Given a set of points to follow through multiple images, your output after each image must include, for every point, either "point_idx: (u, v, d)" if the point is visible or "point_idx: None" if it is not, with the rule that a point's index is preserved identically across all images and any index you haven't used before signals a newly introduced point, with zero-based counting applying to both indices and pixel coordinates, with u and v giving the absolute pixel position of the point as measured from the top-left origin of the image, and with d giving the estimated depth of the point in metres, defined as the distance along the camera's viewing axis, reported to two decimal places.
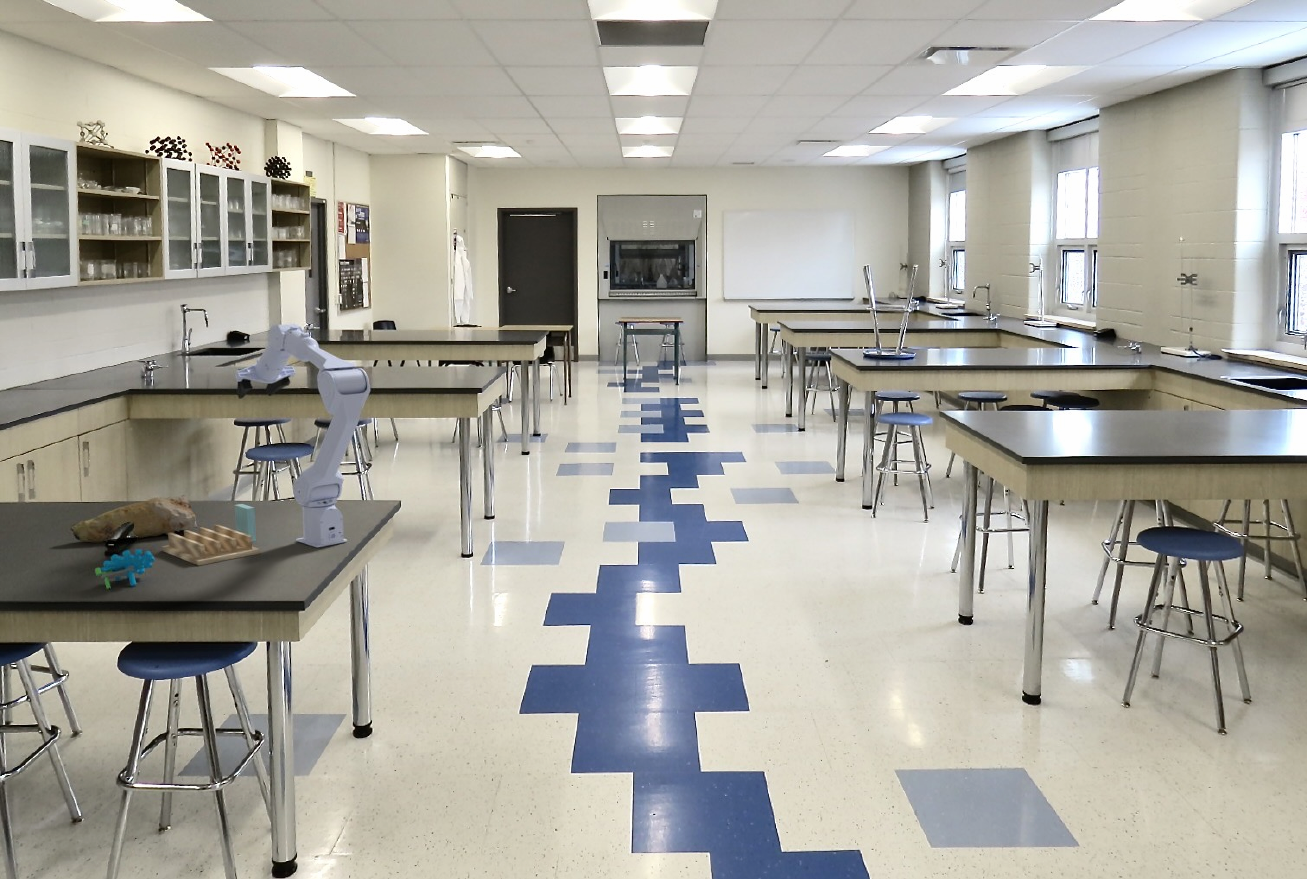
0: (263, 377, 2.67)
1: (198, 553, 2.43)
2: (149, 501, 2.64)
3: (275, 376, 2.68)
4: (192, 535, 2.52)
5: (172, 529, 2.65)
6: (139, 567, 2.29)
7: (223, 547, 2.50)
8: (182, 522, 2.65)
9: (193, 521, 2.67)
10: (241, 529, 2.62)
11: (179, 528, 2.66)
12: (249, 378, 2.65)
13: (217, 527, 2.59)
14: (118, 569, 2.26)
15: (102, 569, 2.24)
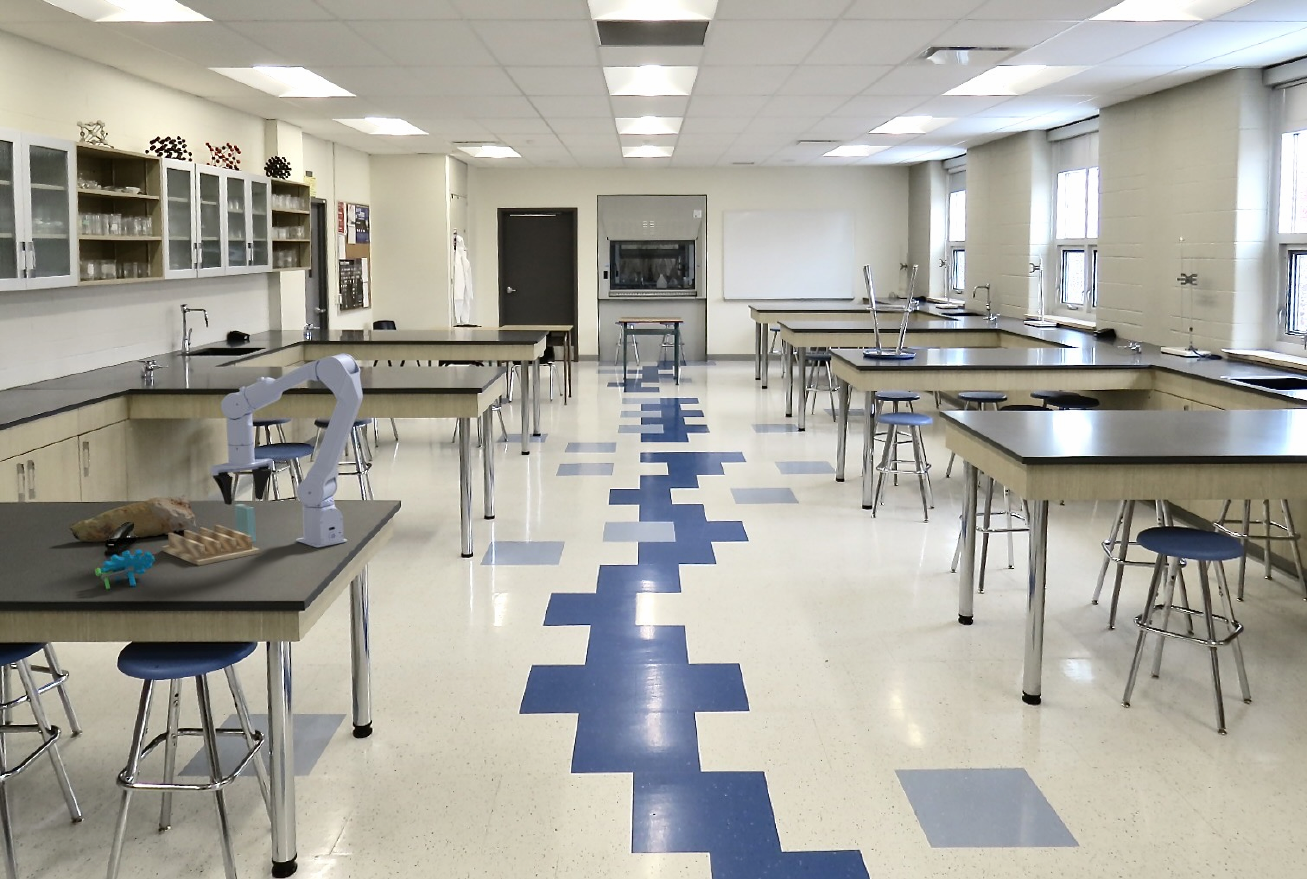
0: (238, 462, 2.57)
1: (198, 553, 2.43)
2: (148, 501, 2.64)
3: (249, 456, 2.58)
4: (192, 535, 2.52)
5: (171, 529, 2.65)
6: (139, 567, 2.29)
7: (223, 547, 2.50)
8: (181, 522, 2.65)
9: (192, 522, 2.67)
10: (241, 529, 2.62)
11: (178, 528, 2.66)
12: (224, 467, 2.55)
13: (217, 527, 2.59)
14: (118, 569, 2.26)
15: (102, 569, 2.24)
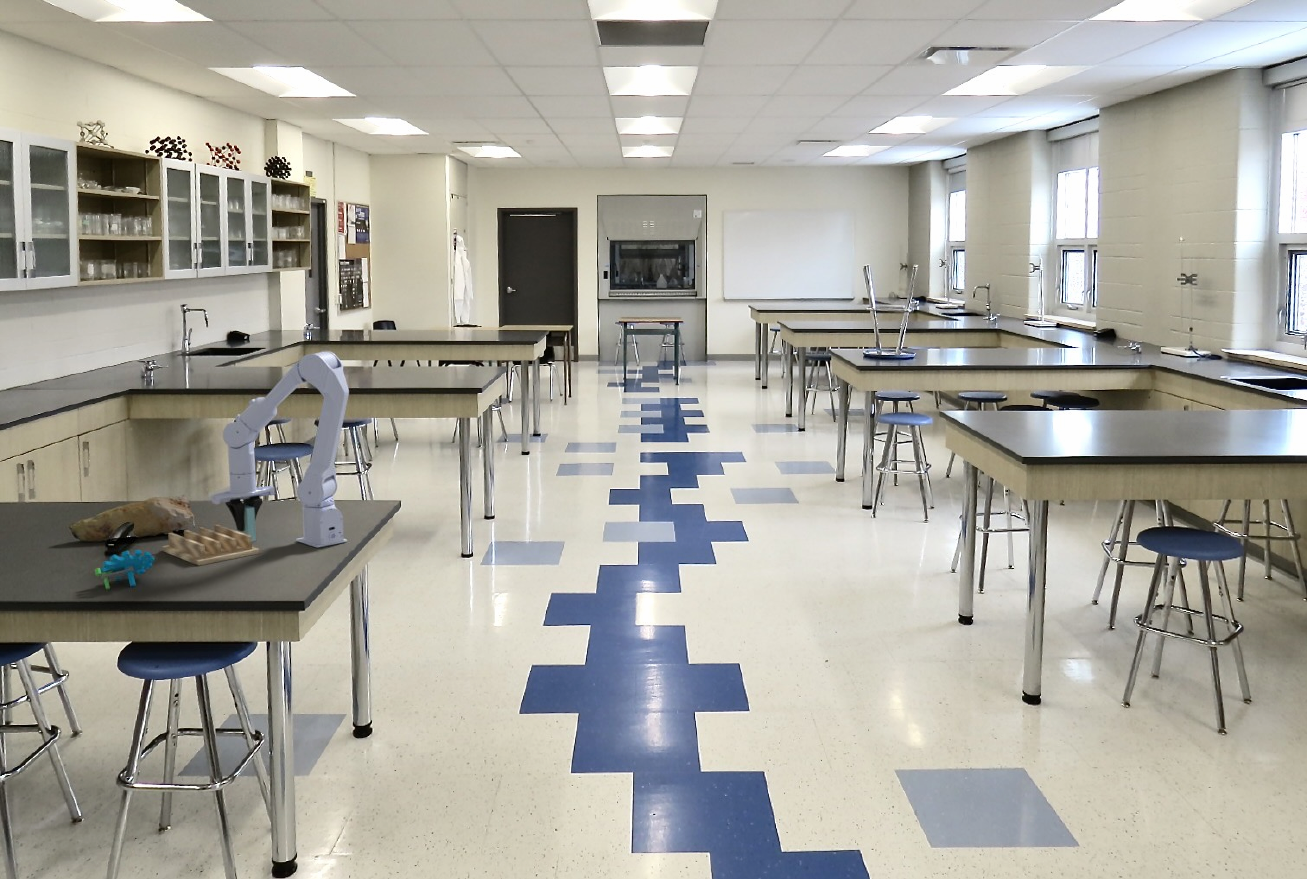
0: (239, 490, 2.58)
1: (198, 553, 2.43)
2: (148, 501, 2.64)
3: (250, 485, 2.59)
4: (192, 535, 2.52)
5: (170, 529, 2.65)
6: (139, 567, 2.29)
7: (223, 547, 2.50)
8: (180, 522, 2.65)
9: (191, 521, 2.67)
10: None
11: (177, 528, 2.66)
12: (226, 496, 2.56)
13: (217, 527, 2.59)
14: (118, 569, 2.26)
15: (102, 569, 2.24)
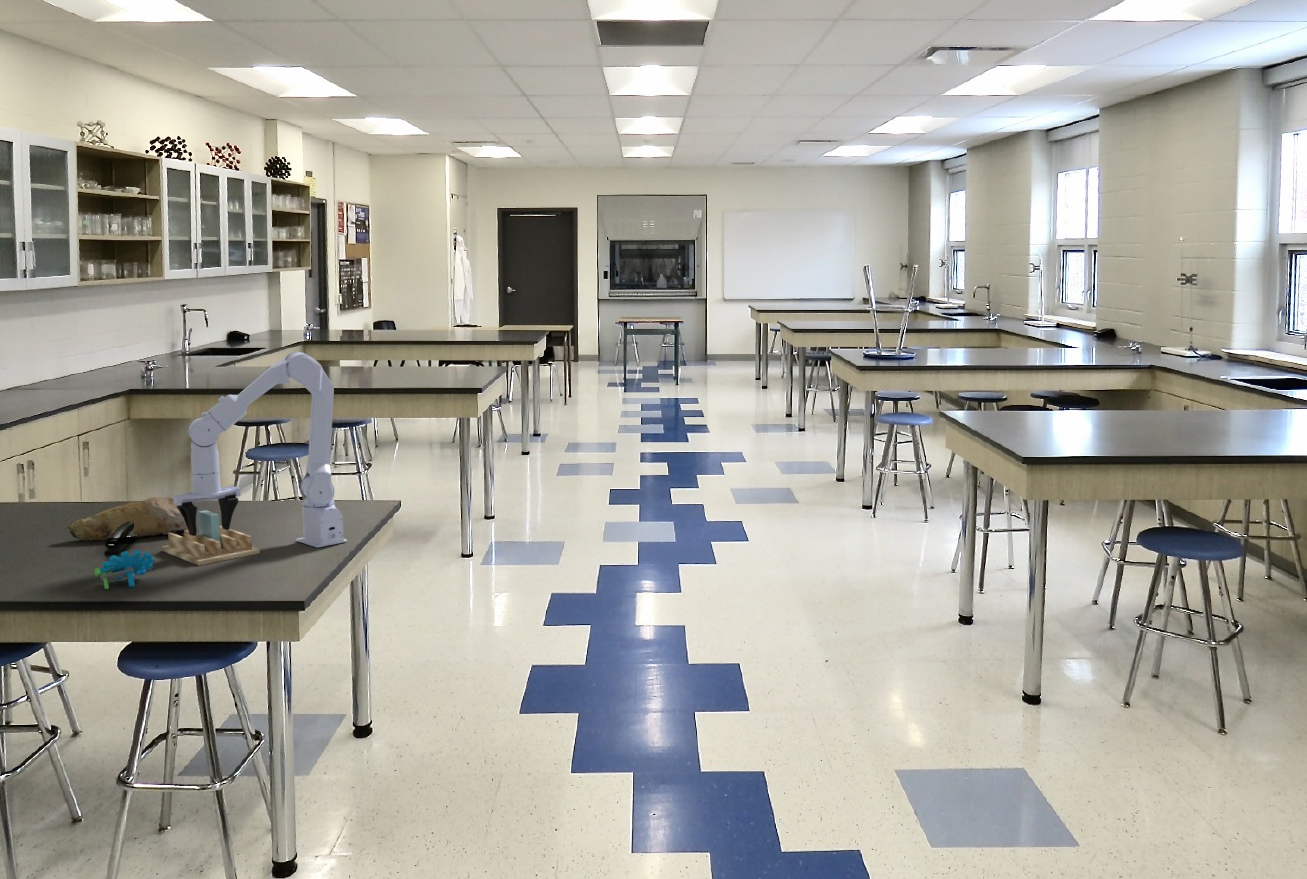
0: (202, 491, 2.46)
1: (198, 553, 2.43)
2: (146, 501, 2.64)
3: (214, 485, 2.47)
4: None
5: (168, 529, 2.65)
6: (139, 568, 2.28)
7: (223, 547, 2.50)
8: (178, 523, 2.65)
9: None
10: None
11: (175, 528, 2.65)
12: (188, 497, 2.45)
13: None
14: (118, 570, 2.26)
15: (101, 569, 2.24)
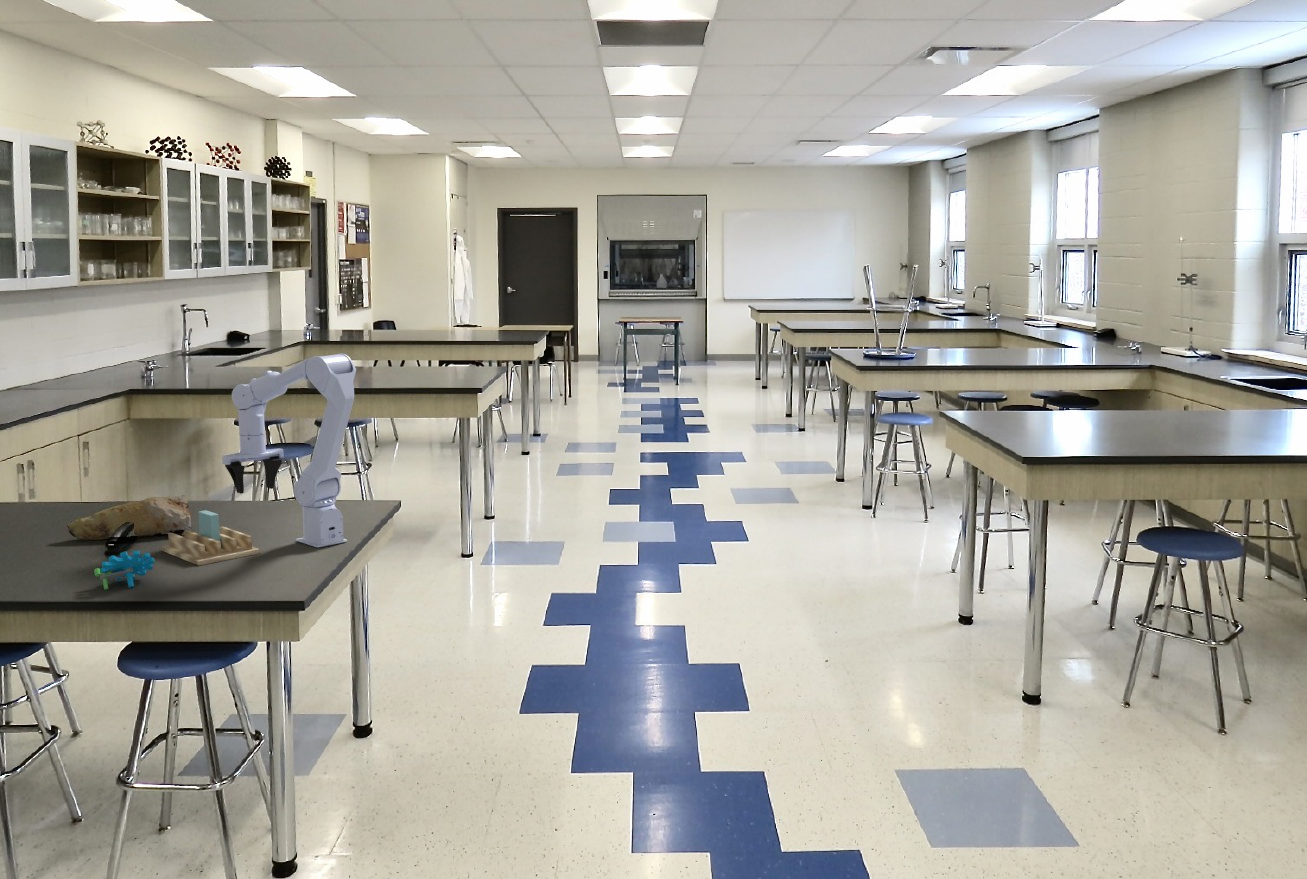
0: (249, 451, 2.63)
1: (198, 553, 2.43)
2: (145, 500, 2.65)
3: (260, 446, 2.64)
4: (192, 535, 2.52)
5: (166, 529, 2.65)
6: (139, 568, 2.28)
7: (223, 547, 2.50)
8: (176, 523, 2.65)
9: (187, 522, 2.66)
10: None
11: (173, 528, 2.65)
12: (236, 457, 2.62)
13: None
14: (117, 570, 2.26)
15: (101, 570, 2.24)
